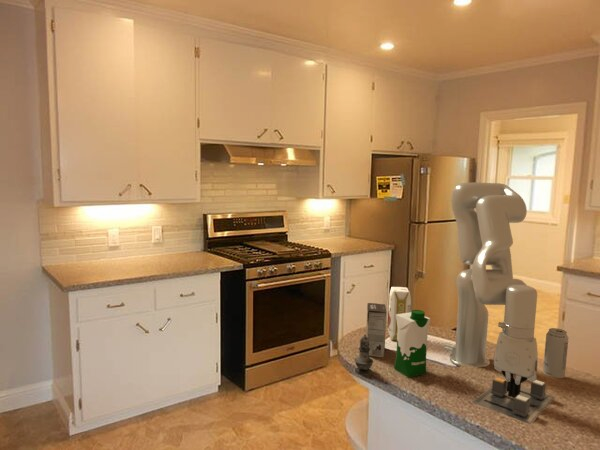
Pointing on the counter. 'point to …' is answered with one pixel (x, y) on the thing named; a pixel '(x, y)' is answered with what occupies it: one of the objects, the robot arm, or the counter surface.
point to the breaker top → (538, 389)
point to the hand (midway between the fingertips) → (513, 395)
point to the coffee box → (376, 328)
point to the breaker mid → (499, 387)
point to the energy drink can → (555, 353)
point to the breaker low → (521, 405)
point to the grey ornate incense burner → (364, 358)
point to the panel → (507, 404)
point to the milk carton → (412, 343)
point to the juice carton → (397, 308)
